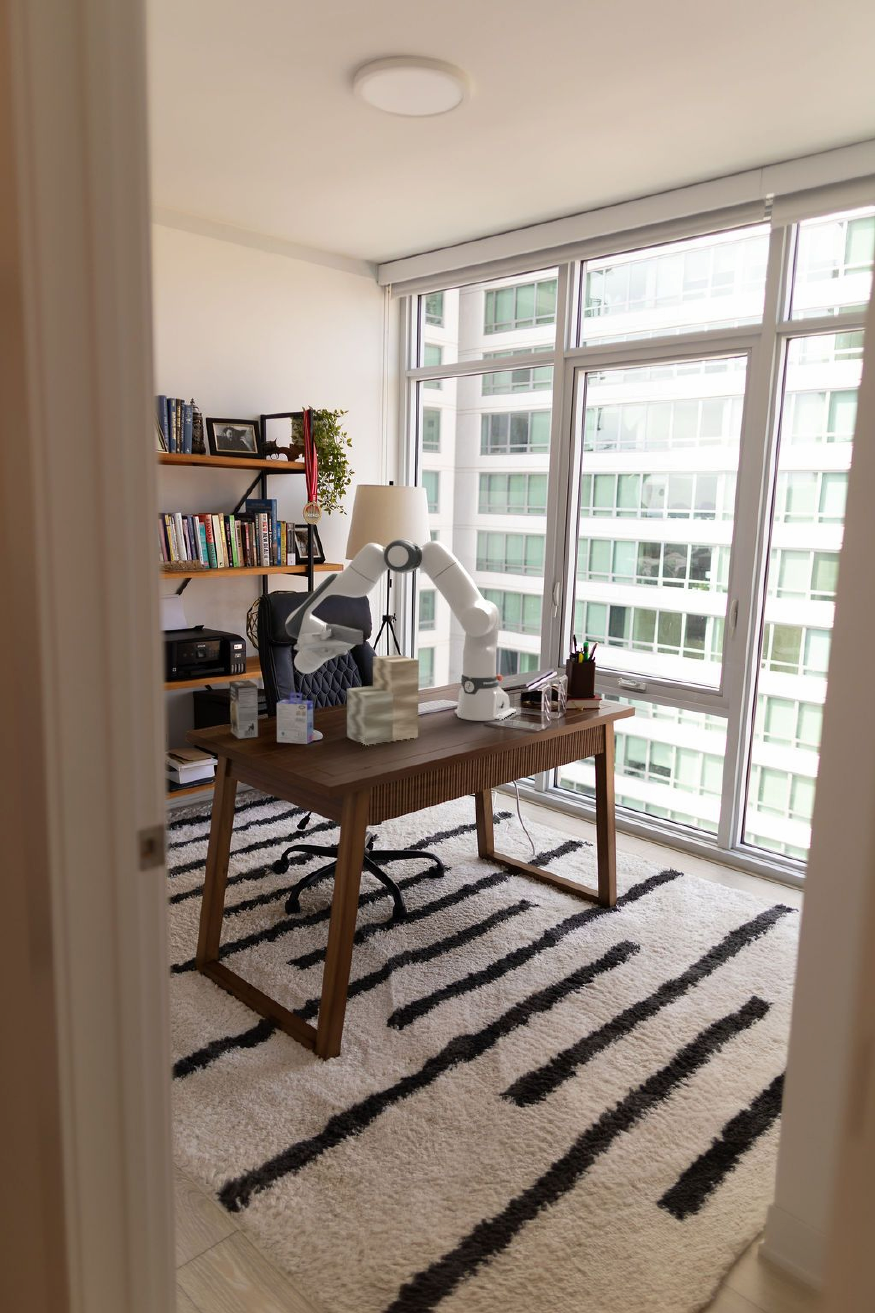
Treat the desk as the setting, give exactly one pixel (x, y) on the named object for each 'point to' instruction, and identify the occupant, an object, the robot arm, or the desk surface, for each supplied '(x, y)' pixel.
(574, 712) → the desk surface
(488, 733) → the desk surface
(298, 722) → the ink cartridge box
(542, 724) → the desk surface
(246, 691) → the coffee box
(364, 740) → the stepped stand
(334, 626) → the bar
